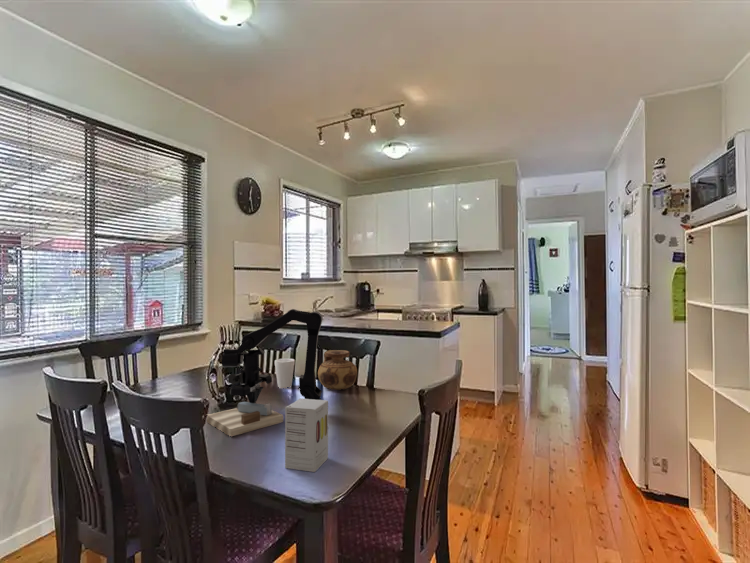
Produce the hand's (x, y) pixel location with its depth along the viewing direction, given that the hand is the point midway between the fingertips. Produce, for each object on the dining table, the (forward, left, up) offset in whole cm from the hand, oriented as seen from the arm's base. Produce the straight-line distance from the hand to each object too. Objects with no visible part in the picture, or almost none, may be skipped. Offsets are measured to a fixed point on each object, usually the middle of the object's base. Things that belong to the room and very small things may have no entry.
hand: (252, 406), depth 151 cm
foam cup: (+29, -32, -4) cm, 44 cm away
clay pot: (+10, -49, -4) cm, 50 cm away
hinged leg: (-4, +1, -1) cm, 4 cm away
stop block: (-12, +7, -1) cm, 14 cm away
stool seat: (-3, +5, -4) cm, 7 cm away
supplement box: (-47, +8, -4) cm, 48 cm away
